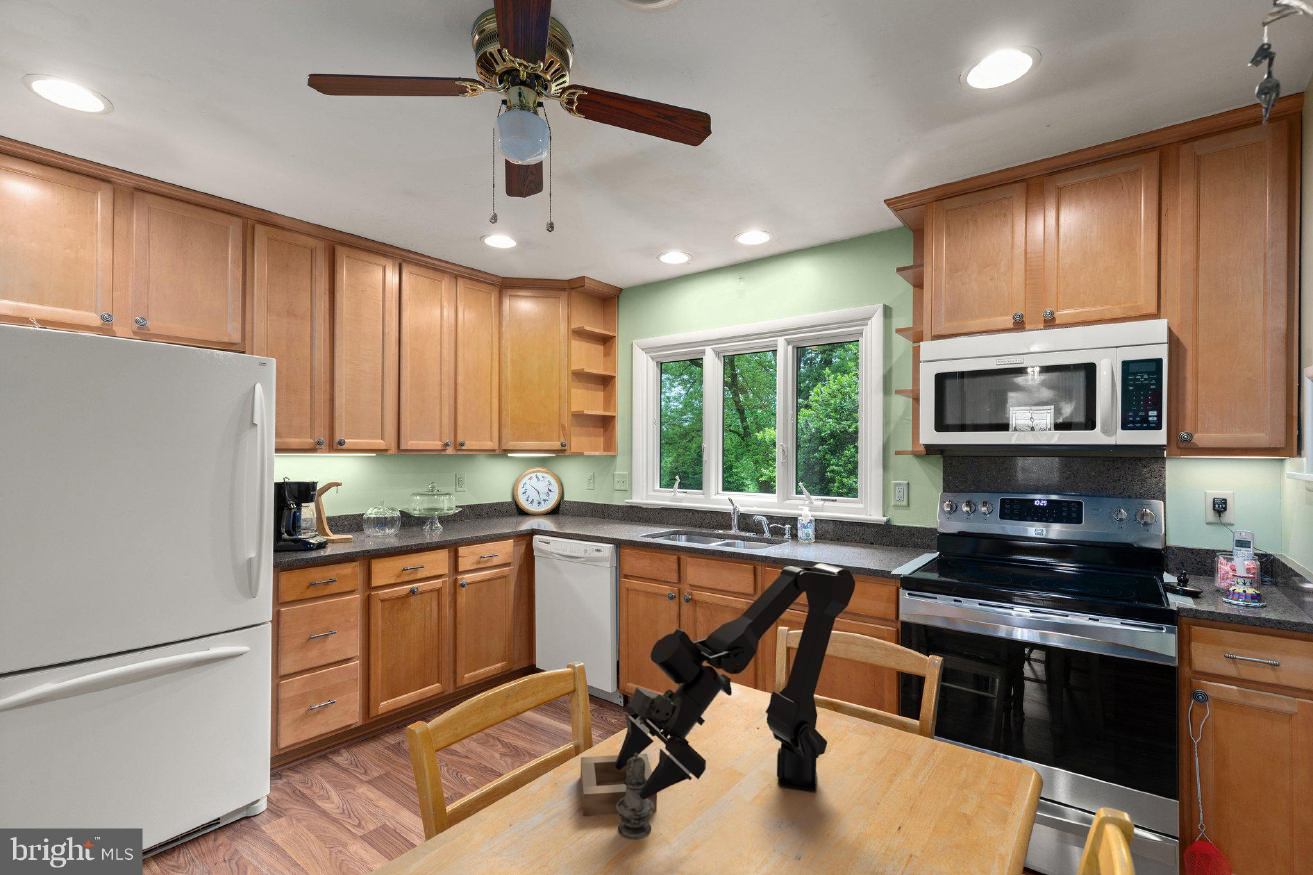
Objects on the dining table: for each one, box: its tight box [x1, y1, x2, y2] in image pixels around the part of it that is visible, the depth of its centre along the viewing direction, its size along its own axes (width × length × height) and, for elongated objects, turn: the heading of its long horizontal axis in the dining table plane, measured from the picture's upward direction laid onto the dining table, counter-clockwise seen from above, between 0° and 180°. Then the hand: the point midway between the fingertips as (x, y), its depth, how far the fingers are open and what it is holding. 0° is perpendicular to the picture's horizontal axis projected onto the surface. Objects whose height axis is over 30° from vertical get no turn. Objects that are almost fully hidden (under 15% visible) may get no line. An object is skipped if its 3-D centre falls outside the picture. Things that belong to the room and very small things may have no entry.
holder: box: [580, 753, 658, 817], centre depth 108 cm, size 12×12×4 cm
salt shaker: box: [616, 752, 654, 840], centre depth 99 cm, size 6×6×12 cm
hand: (628, 782), depth 98 cm, fingers open, 9 cm apart
